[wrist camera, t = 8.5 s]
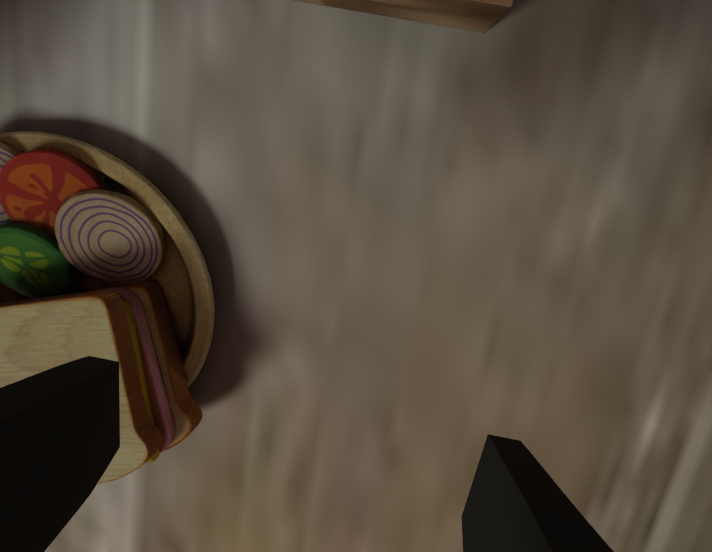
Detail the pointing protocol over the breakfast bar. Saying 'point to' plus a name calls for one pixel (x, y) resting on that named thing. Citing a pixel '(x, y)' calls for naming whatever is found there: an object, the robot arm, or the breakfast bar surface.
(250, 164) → the breakfast bar surface
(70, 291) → the toy sandwich meal
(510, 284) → the breakfast bar surface
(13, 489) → the robot arm
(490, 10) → the box with square hole
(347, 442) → the breakfast bar surface
